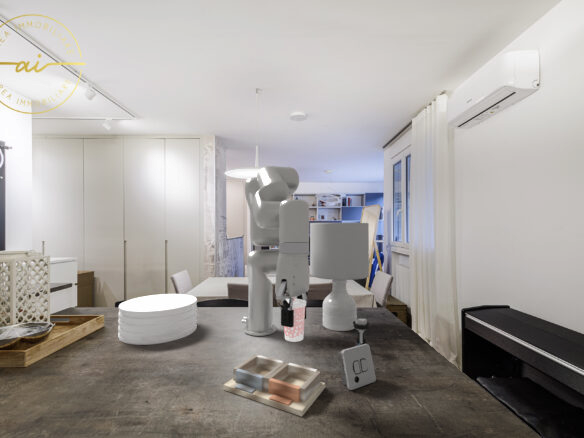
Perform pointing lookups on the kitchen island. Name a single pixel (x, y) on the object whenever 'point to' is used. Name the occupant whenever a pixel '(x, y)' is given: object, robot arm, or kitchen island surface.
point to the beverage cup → (296, 321)
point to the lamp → (339, 267)
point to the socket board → (276, 383)
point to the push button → (361, 329)
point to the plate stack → (157, 318)
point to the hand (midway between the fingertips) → (294, 321)
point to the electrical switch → (356, 366)
